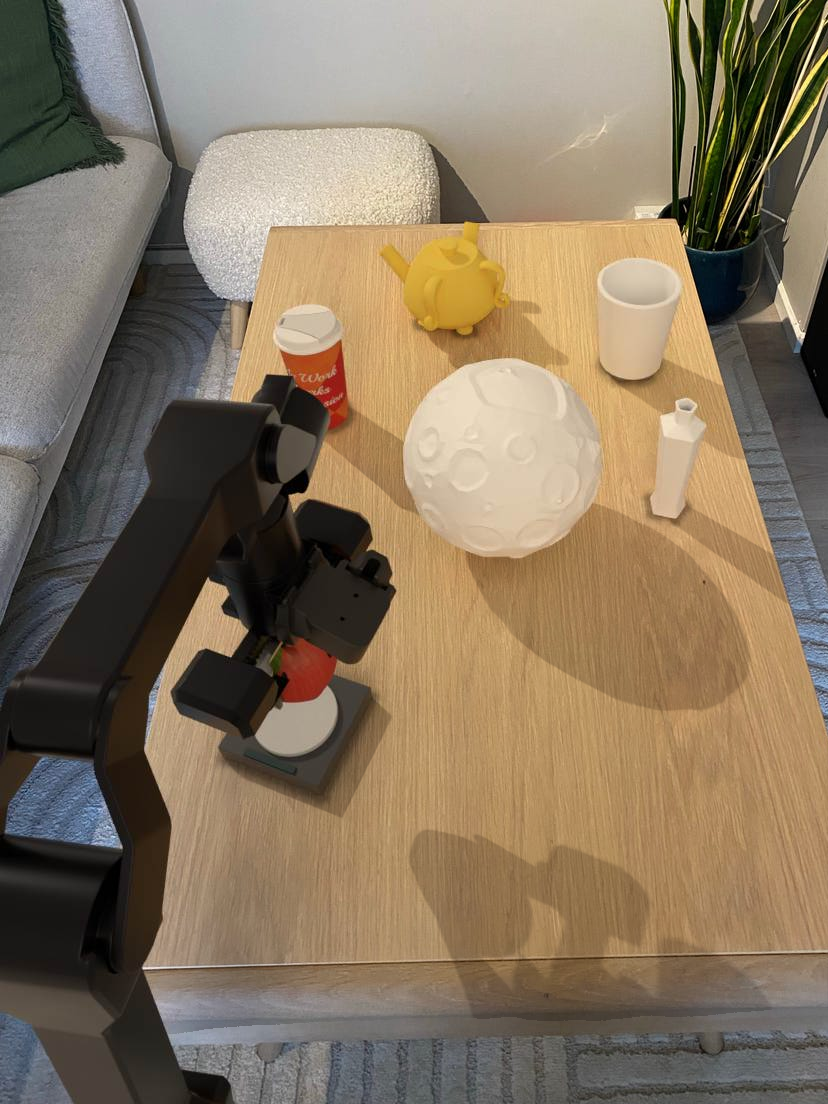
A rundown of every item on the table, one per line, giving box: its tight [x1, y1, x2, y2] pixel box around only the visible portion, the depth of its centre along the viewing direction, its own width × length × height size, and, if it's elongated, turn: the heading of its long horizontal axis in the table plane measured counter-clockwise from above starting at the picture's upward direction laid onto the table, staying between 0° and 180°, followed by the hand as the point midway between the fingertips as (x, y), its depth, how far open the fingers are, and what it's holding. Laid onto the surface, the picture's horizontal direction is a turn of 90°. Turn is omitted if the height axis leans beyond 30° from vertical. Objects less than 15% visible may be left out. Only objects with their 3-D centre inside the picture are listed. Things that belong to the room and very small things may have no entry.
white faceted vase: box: [649, 397, 708, 519], centre depth 94 cm, size 5×4×15 cm
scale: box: [217, 674, 374, 797], centre depth 82 cm, size 10×10×3 cm
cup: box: [596, 257, 684, 383], centre depth 110 cm, size 10×10×13 cm
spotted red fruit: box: [267, 638, 338, 703], centre depth 71 cm, size 8×7×10 cm
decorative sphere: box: [402, 357, 603, 560], centre depth 92 cm, size 20×20×20 cm
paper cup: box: [272, 303, 349, 431], centre depth 106 cm, size 8×8×14 cm
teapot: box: [378, 221, 511, 335], centre depth 119 cm, size 14×14×11 cm
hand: (299, 667), depth 73 cm, fingers closed on spotted red fruit, 7 cm apart
